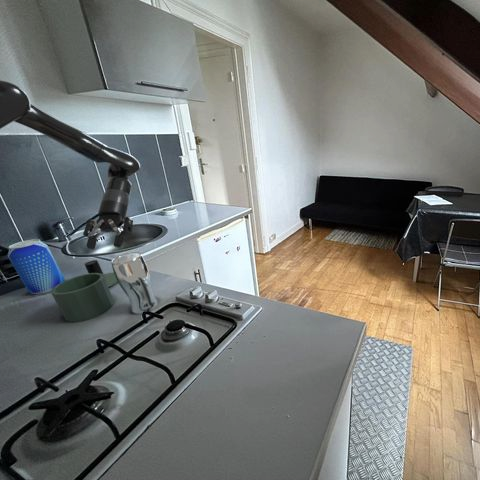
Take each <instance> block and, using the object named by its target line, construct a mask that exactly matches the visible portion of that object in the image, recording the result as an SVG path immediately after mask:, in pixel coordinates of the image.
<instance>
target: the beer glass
mask: <svg viewBox="0 0 480 480" xmlns="http://www.w3.org/2000/svg"><path fill="white" fill-rule="evenodd" d="M110 264H111V269H112V271H113V272H112V273H114V274H115V277H116V279H117V283H118V285H119V287H120V288H121V290H122V291H123V292H124V294H125V295H126V296H127V298H128V300H129V302H130V308H131V312H132V313H133V314H135V315H141V314H144V313H143V312H146V313H148V312H150V311H153V310H154V309H155V308H156V307H158V304H159V302H158V299H157V298H156V297H155V295H154V293H153V290H152V282H151V275H150V271H149V267H148V265H147V263H146V260H145V258H144V256H143V254H142V253H141V252H128V253H123V254H121V255H118V256H116V257H114V258H112V259H111V260H110Z"/></svg>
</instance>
